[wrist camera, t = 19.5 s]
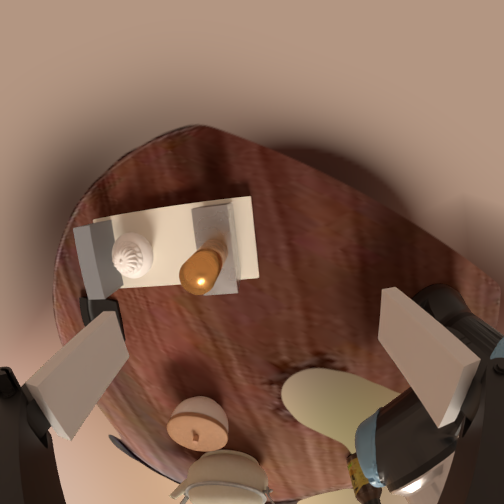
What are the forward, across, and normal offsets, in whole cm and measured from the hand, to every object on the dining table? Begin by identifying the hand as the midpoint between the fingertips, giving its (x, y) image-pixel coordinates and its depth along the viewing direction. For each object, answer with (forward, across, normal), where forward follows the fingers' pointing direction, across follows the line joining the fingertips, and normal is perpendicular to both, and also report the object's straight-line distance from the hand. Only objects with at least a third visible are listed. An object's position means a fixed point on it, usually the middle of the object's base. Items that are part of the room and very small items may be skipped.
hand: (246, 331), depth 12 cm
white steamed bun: (+25, +16, 0) cm, 30 cm away
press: (+27, +12, 0) cm, 29 cm away
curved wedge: (+27, +29, +13) cm, 42 cm away
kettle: (+27, +13, +54) cm, 61 cm away
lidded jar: (+27, +13, +32) cm, 43 cm away
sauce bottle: (+27, -20, +56) cm, 66 cm away
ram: (+24, +4, 0) cm, 25 cm away
